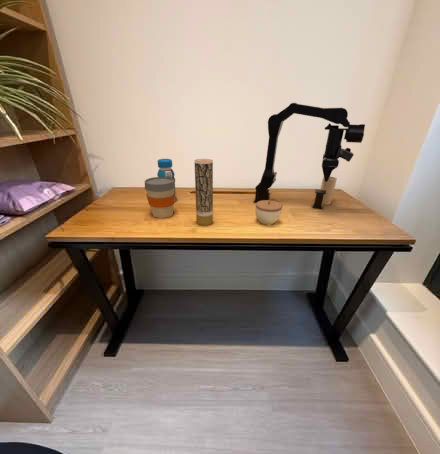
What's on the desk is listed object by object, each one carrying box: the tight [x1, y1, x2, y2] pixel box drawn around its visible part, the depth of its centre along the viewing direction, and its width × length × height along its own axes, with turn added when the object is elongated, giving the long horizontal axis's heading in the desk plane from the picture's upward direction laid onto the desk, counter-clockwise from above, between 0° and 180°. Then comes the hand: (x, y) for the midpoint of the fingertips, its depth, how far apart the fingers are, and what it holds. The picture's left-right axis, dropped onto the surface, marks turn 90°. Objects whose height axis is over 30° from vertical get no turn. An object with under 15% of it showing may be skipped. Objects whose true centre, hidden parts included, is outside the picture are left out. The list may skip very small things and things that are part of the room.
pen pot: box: [319, 175, 337, 205], centre depth 126 cm, size 6×6×12 cm
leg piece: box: [312, 188, 326, 210], centre depth 121 cm, size 5×5×8 cm
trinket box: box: [255, 199, 283, 226], centre depth 104 cm, size 11×11×9 cm
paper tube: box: [194, 158, 214, 226], centre depth 99 cm, size 7×7×25 cm
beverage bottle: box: [156, 158, 177, 203], centre depth 123 cm, size 8×8×20 cm
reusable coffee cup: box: [144, 176, 176, 219], centre depth 109 cm, size 13×13×15 cm
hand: (326, 179), depth 113 cm, fingers open, 9 cm apart
